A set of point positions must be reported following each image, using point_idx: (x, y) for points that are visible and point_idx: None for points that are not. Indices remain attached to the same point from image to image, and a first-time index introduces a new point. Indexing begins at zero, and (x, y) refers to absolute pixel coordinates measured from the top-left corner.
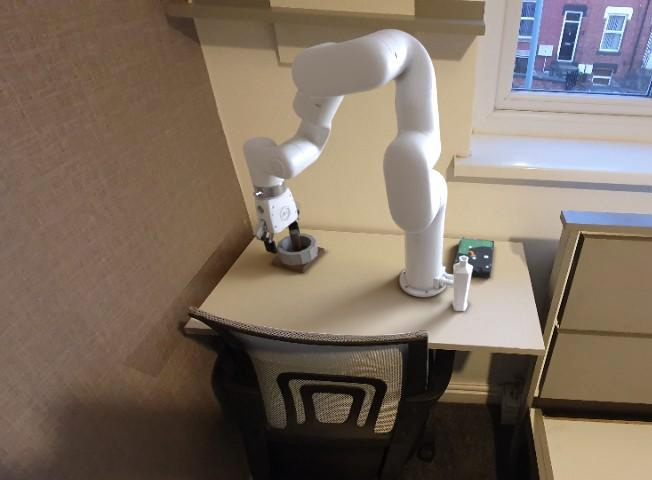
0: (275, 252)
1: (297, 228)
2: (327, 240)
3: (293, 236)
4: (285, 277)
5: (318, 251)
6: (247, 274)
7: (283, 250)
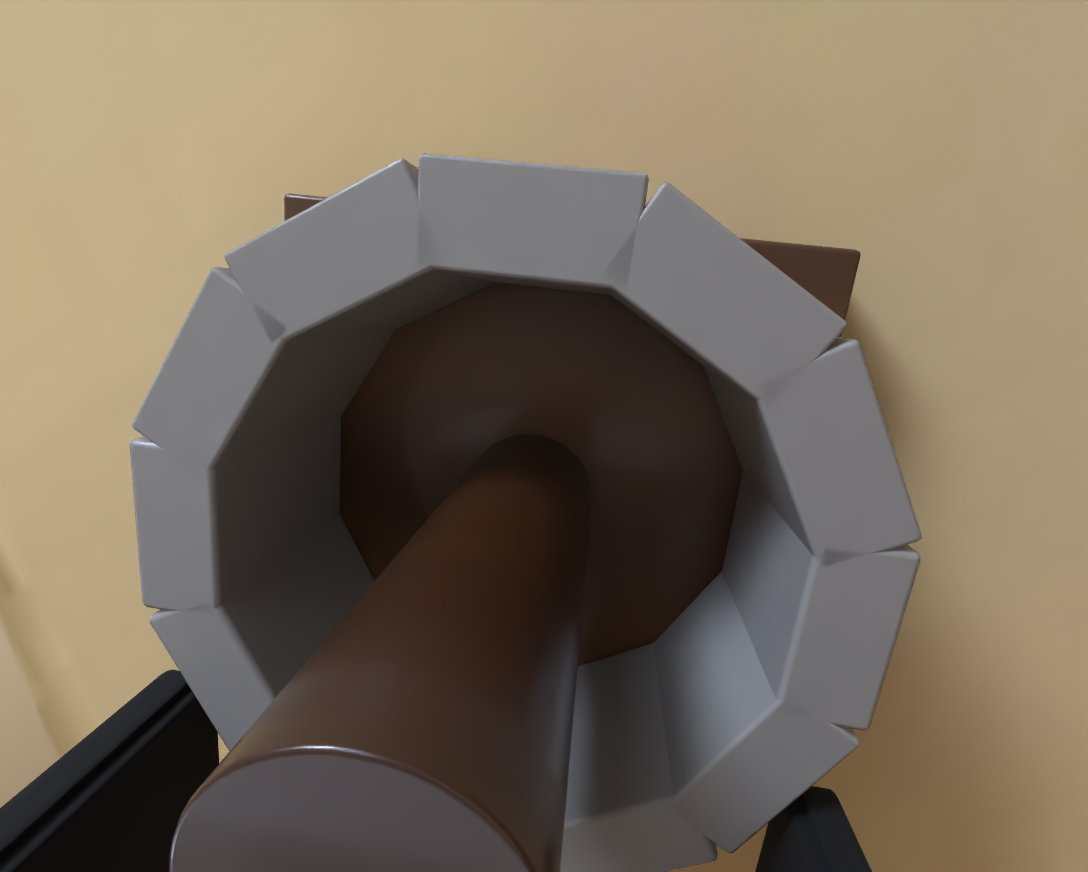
0: (839, 817)
1: (77, 788)
2: (95, 316)
3: (550, 777)
4: (951, 451)
5: None
6: (951, 859)
7: (779, 717)
